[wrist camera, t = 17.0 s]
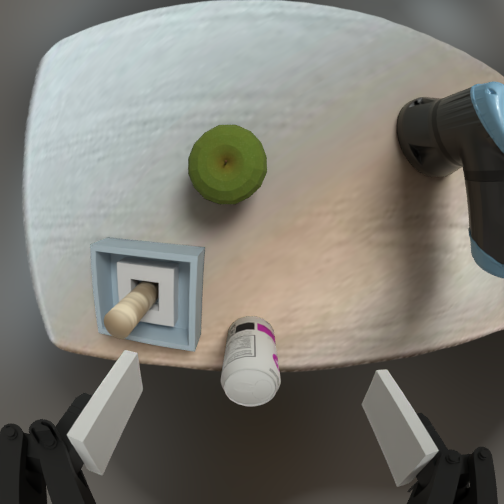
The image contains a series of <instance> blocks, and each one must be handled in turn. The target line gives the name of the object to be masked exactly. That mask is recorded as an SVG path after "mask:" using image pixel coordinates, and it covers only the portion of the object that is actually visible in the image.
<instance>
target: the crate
mask: <svg viewBox="0 0 504 504" xmlns="http://www.w3.org/2000/svg"><path fill="white" fill-rule="evenodd" d="M90 248H91V269H92V282H93V293H94V302H95V310H96V318H97V325H98V331H99V333H102V334H106V335H110V336H112V335H111V334H110V333H109V332H108V331H107V330H106V328H105V325H104V317H105V315H106V314H107V313H108V312H109V311H110V310H111V309H112V308H113V307H114V306H115V305H116V304H118V303H119V302H120V301H121V300H122V299H123V298H124V297H125V296H126V295H127V294H128V293H130V292H131V291H132V290H133V289H134V288H135V287H136V286H137V285H138V284H140V283H141V282H142V281H149V282H157V283H159V298H158V299H157V300H156V302H155V303H154V304H153V305H152V307H151V308H150V309H149V310H148V311H147V313H146V314H145V315H144V316H143V318H142V319H141V320H140V321H139V323H138V324H137V325H136V327H135V328H134V329H133V330H132V332H131V333H130V334H129V335H128V337H126V338H124V339H128V340H132V341H137V342H142V343H147V344H152V345H158V346H163V347H169V348H175V349H181V350H188V351H195V350H196V347H197V344H198V341H199V338H200V335H201V316H202V290H203V271H204V254H205V247H197V246H187V245H177V244H168V243H158V242H148V241H138V240H128V239H118V238H105V239H103V240H100V241H98V242H95V243H92V244H90Z"/></svg>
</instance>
